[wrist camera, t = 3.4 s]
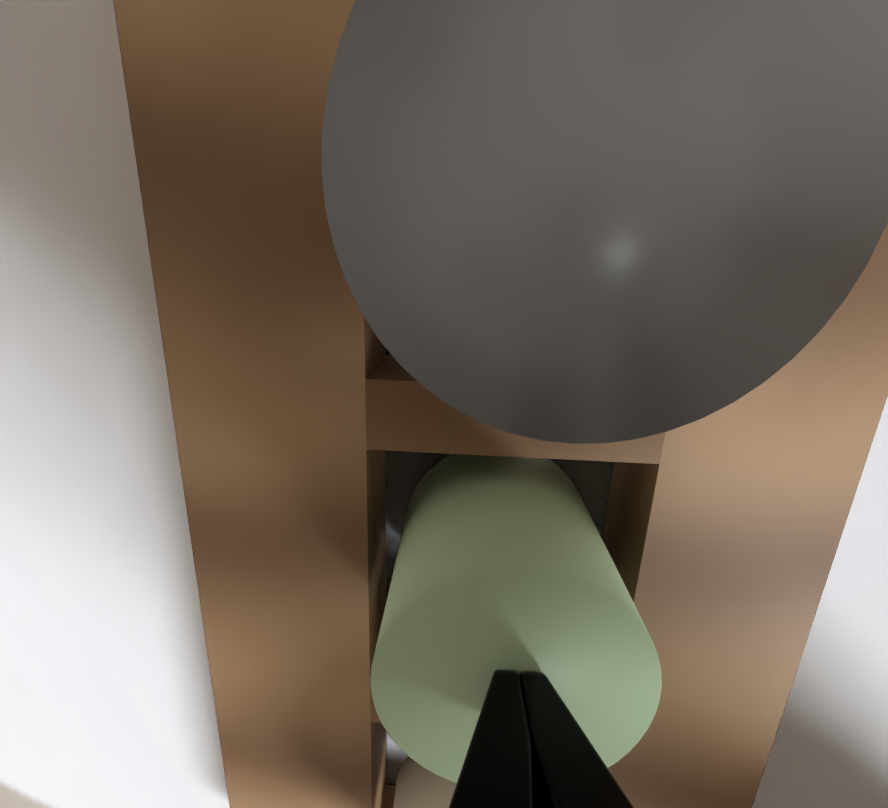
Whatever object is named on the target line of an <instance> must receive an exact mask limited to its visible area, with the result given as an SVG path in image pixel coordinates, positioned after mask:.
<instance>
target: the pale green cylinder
mask: <svg viewBox="0 0 888 808" xmlns="http://www.w3.org/2000/svg"><path fill="white" fill-rule="evenodd" d="M495 670H512V671H517V672H518V674H520V673H521V672H523V671H527V672H541V673H543V674H545V675H546V676H547V678H548V679H549V681H550V682H551V684H552V685H553V687H554V688H555V690H556V691H557V693H558V694H559V696H560V697H561V699H562V700H563V702H564V703H565V705H566V706H567V708H568V709H569V711H570V712H571V714H572V715H573V717H574V718H575V720H576V721H577V723H578V724H579V726H580V727H581V729H582V730H583V732H584V733H585V735H586V736H587V738H588V739H589V741H590V742H591V744H592V745H593V747H594V748H595V750H596V751H597V753H598V754H599V756H600V757H601V759H602V760H603V762H604V763H605V765H606V766H607V768H609V767H610V766H612V765H613V764H615V763H617V762H618V761H619V760H620V759H621V758H623V757H624V756H625V755H626V754H627V753H629V752H630V751H631V749H632V748H633V747H634V746H635V745H636V744H637V743H638V742H639V741H640V740H641V738H642V737H643V735H644V734H645V732H646V731H647V730H648V728H649V726H650V724H651V722H652V720H653V718H654V716H655V714H656V711H657V708H658V704H659V701H660V695H661V688H662V674H661V666H660V661H659V657H658V653H657V651H656V648H655V646H654V643H653V641H652V639H651V637H650V635H649V633H648V631H647V629H646V627H645V625H644V623H643V620H642V618H641V616H640V614H639V612H638V610H637V608H636V606H635V604H634V602H633V600H632V598H631V596H630V594H629V592H628V590H627V588H626V586H625V584H624V582H623V580H622V578H621V576H620V574H619V572H618V570H617V568H616V566H615V564H614V562H613V560H612V558H611V556H610V554H609V552H608V550H607V548H606V546H605V544H604V542H603V540H602V538H601V536H600V534H599V532H598V530H597V528H596V526H595V524H594V522H593V520H592V518H591V516H590V514H589V512H588V510H587V508H586V506H585V504H584V502H583V500H582V498H581V496H580V494H579V492H578V490H577V488H576V486H575V485H574V483H573V481H572V480H571V479H570V477H569V476H568V475H567V474H566V473H565V472H564V471H563V470H562V469H561V468H560V467H559V466H558V465H557V464H556V463H554V462H553V461H551V460H550V459H546V458H526V457H506V456H486V455H465V454H451V455H449V456H448V457H446V458H444V459H442V460H441V461H440V462H438V463H437V464H436V465H434V466H433V467H432V468H431V469H430V470H429V471H428V472H427V473H426V474H425V475H424V477H423V478H422V479H421V480H420V482H419V483H418V485H417V487H416V488H415V490H414V492H413V494H412V497H411V499H410V502H409V506H408V510H407V515H406V519H405V523H404V528H403V532H402V536H401V541H400V545H399V549H398V554H397V558H396V562H395V567H394V571H393V575H392V580H391V584H390V588H389V593H388V597H387V601H386V606H385V610H384V614H383V619H382V623H381V627H380V632H379V636H378V640H377V645H376V649H375V653H374V658H373V662H372V666H371V680H370V682H371V692H372V698H373V702H374V706H375V710H376V712H377V714H378V716H379V719H380V721H381V723H382V725H383V726H384V728H385V730H386V731H387V733H388V734H389V736H390V737H391V738H392V739H393V741H394V742H395V743H396V744H397V745H398V747H399V748H400V749H401V750H403V751H404V752H405V753H406V754H407V755H408V756H409V757H410V758H411V759H413V760H414V761H416V762H417V763H418V764H420V765H421V766H422V767H424V768H426V769H427V770H429V771H431V772H433V773H435V774H436V775H438V776H440V777H443V778H445V779H447V780H450V781H452V782H455V783H457V781H458V778H459V775H460V772H461V769H462V766H463V763H464V760H465V757H466V754H467V751H468V748H469V745H470V742H471V739H472V736H473V733H474V730H475V727H476V724H477V721H478V718H479V715H480V712H481V709H482V706H483V703H484V700H485V697H486V694H487V691H488V688H489V685H490V682H491V679H492V676H493V673H494V671H495Z"/></svg>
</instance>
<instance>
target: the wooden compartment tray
mask: <svg viewBox="0 0 888 808" xmlns="http://www.w3.org/2000/svg"><path fill="white" fill-rule="evenodd" d="M113 2H114V9H115V16H116V23H117V30H118V37H119V44H120V51H121V58H122V65H123V72H124V79H125V85H126V92H127V99H128V106H129V113H130V120H131V127H132V134H133V141H134V148H135V155H136V162H137V168H138V175H139V182H140V189H141V196H142V203H143V210H144V217H145V224H146V231H147V238H148V245H149V252H150V258H151V265H152V272H153V279H154V286H155V293H156V300H157V307H158V314H159V321H160V328H161V335H162V341H163V348H164V355H165V362H166V369H167V376H168V383H169V390H170V397H171V404H172V411H173V418H174V425H175V431H176V438H177V445H178V452H179V459H180V466H181V473H182V480H183V487H184V494H185V501H186V508H187V515H188V521H189V528H190V535H191V542H192V549H193V556H194V563H195V570H196V577H197V584H198V591H199V598H200V604H201V611H202V618H203V625H204V632H205V639H206V646H207V653H208V660H209V667H210V674H211V681H212V688H213V694H214V701H215V708H216V715H217V722H218V729H219V736H220V743H221V750H222V757H223V764H224V771H225V777H226V784H227V791H228V798H229V805H230V808H393V805H394V797H395V789H396V785H387V734H386V730H385V728H384V726H383V725H382V723H381V721H380V719H379V716H378V714H377V712H376V710H375V706H374V702H373V698H372V692H371V682H370V680H371V666H372V662H373V658H374V653H375V649H376V645H377V640H378V636H379V632H380V627H381V623H382V619H383V614H384V610H385V606H386V451H405V452H425V453H445V454H465V455H486V456H506V457H526V458H546V459H567V460H587V461H607V462H614V466H613V472H612V479H611V485H610V492H609V498H608V504H607V511H606V517H605V524H604V530H603V537H602V540H603V542H604V544H605V546H606V548H607V550H608V552H609V554H610V556H611V558H612V560H613V562H614V564H615V566H616V568H617V570H618V572H619V574H620V576H621V578H622V580H623V582H624V584H625V586H626V588H627V590H628V592H629V594H630V596H631V598H632V600H633V602H634V604H635V606H636V608H637V610H638V612H639V614H640V616H641V618H642V620H643V623H644V625H645V627H646V629H647V631H648V633H649V635H650V637H651V639H652V641H653V643H654V646H655V648H656V651H657V653H658V657H659V661H660V666H661V674H662V688H661V695H660V701H659V704H658V708H657V711H656V714H655V716H654V718H653V720H652V722H651V724H650V726H649V728H648V730H647V731H646V732H645V734H644V735H643V737H642V738H641V740H640V741H639V742H638V743H637V744H636V745H635V746H634V747H633V748H632V749H631V751H630V752H629V753H627V754H626V755H625V756H624V757H623V758H621V759H620V760H619V761H618V762H617V763H615V764H613V765H612V766H610V767H609V768H608V769H609V771H610V772H611V774H612V775H613V777H614V778H615V780H616V781H617V783H618V784H619V786H620V787H621V789H622V790H623V792H624V793H625V795H626V796H627V798H628V799H629V801H630V802H631V804H632V805H633V807H634V808H752V805H753V802H754V799H755V796H756V793H757V790H758V787H759V784H760V781H761V778H762V775H763V772H764V769H765V766H766V763H767V760H768V757H769V754H770V750H771V747H772V744H773V741H774V738H775V735H776V732H777V729H778V726H779V723H780V720H781V717H782V714H783V711H784V708H785V705H786V702H787V699H788V696H789V693H790V690H791V687H792V684H793V681H794V678H795V675H796V672H797V669H798V666H799V663H800V660H801V656H802V653H803V650H804V647H805V644H806V641H807V638H808V635H809V632H810V629H811V626H812V623H813V620H814V617H815V614H816V611H817V608H818V605H819V602H820V599H821V596H822V593H823V590H824V587H825V584H826V581H827V578H828V575H829V572H830V569H831V566H832V562H833V559H834V556H835V553H836V550H837V547H838V544H839V541H840V538H841V535H842V532H843V529H844V526H845V523H846V520H847V517H848V514H849V511H850V508H851V505H852V502H853V499H854V496H855V493H856V490H857V487H858V484H859V481H860V478H861V475H862V472H863V469H864V465H865V462H866V459H867V456H868V453H869V450H870V447H871V444H872V441H873V438H874V435H875V432H876V429H877V426H878V423H879V420H880V417H881V414H882V411H883V408H884V405H885V402H886V399H887V396H888V222H887V225H886V227H885V229H884V232H883V234H882V236H881V238H880V240H879V242H878V244H877V246H876V248H875V250H874V252H873V254H872V256H871V258H870V260H869V262H868V264H867V266H866V267H865V269H864V271H863V272H862V274H861V275H860V277H859V279H858V280H857V282H856V283H855V285H854V286H853V288H852V290H851V291H850V293H849V294H848V296H847V297H846V299H845V300H844V302H843V303H842V304H841V305H840V307H839V308H838V309H837V311H836V312H835V313H834V314H833V316H832V317H831V318H830V319H829V321H828V322H827V323H826V324H825V326H824V327H823V328H822V329H821V331H820V332H819V333H818V334H817V335H816V336H815V337H814V338H813V339H812V340H811V341H810V342H809V343H808V344H807V345H806V346H805V347H804V348H803V349H802V350H801V351H800V352H799V353H798V354H797V355H796V356H795V357H794V358H793V359H792V360H791V361H790V362H788V363H787V364H786V365H785V366H783V367H782V368H781V369H780V370H779V371H777V372H776V373H775V374H774V375H773V376H771V377H770V378H769V379H768V380H766V381H765V382H764V383H762V384H761V385H759V386H758V387H756V388H755V389H753V390H752V391H750V392H749V393H747V394H746V395H744V396H743V397H741V398H740V399H738V400H737V401H735V402H733V403H732V404H730V405H728V406H726V407H724V408H722V409H720V410H718V411H716V412H714V413H712V414H710V415H708V416H706V417H704V418H702V419H700V420H697V421H694V422H692V423H689V424H686V425H684V426H681V427H678V428H676V429H673V430H670V431H667V432H663V433H659V434H655V435H651V436H647V437H643V438H639V439H634V440H626V441H619V442H611V443H594V444H570V443H561V442H551V441H542V440H537V439H533V438H529V437H524V436H520V435H516V434H512V433H508V432H506V431H503V430H500V429H498V428H495V427H492V426H490V425H487V424H484V423H482V422H479V421H477V420H476V419H474V418H472V417H470V416H468V415H466V414H464V413H462V412H460V411H458V410H457V409H455V408H453V407H451V406H450V405H448V404H447V403H446V402H444V401H443V400H441V399H440V398H438V397H437V396H436V395H434V394H433V393H431V392H430V391H428V390H427V389H426V388H425V387H423V386H422V385H421V384H420V383H419V382H418V381H417V380H416V379H415V378H414V377H413V376H411V375H410V374H409V373H408V372H407V371H406V370H405V369H404V368H403V367H402V366H401V365H400V364H399V363H398V362H397V360H396V359H395V358H394V357H393V356H392V355H386V348H385V346H384V345H383V344H382V343H381V342H380V340H379V339H378V337H377V336H376V334H375V333H374V331H373V330H372V328H371V327H370V325H369V323H368V322H367V320H366V319H365V317H364V316H363V314H362V313H361V311H360V309H359V307H358V305H357V303H356V301H355V299H354V297H353V295H352V292H351V290H350V288H349V286H348V284H347V282H346V280H345V277H344V274H343V272H342V269H341V266H340V263H339V260H338V257H337V254H336V251H335V249H334V246H333V241H332V237H331V232H330V228H329V223H328V218H327V214H326V209H325V200H324V190H323V180H322V170H321V162H322V125H323V117H324V110H325V103H326V96H327V88H328V83H329V79H330V75H331V71H332V67H333V63H334V59H335V56H336V52H337V48H338V44H339V40H340V38H341V35H342V33H343V30H344V28H345V25H346V22H347V20H348V17H349V15H350V12H351V10H352V7H353V4H354V2H355V0H113Z"/></svg>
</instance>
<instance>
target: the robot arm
mask: <svg viewBox="0 0 888 808" xmlns="http://www.w3.org/2000/svg"><path fill="white" fill-rule="evenodd" d="M449 808H634V807H633V805H632V804H631V802H630V801H629V799H628V798H627V796H626V795H625V793H624V792H623V790H622V789H621V787H620V786H619V784H618V783H617V781H616V780H615V778H614V777H613V775H612V774H611V772H610V771H609V769H608V768H607V766H606V765H605V763H604V762H603V760H602V759H601V757H600V756H599V754H598V753H597V751H596V750H595V748H594V747H593V745H592V744H591V742H590V741H589V739H588V738H587V736H586V735H585V733H584V732H583V730H582V729H581V727H580V726H579V724H578V723H577V721H576V720H575V718H574V717H573V715H572V714H571V712H570V711H569V709H568V708H567V706H566V705H565V703H564V702H563V700H562V699H561V697H560V696H559V694H558V693H557V691H556V690H555V688H554V687H553V685H552V684H551V682H550V681H549V679H548V678H547V676H546V675H545V674H543V673H541V672H527V671H523V672H521V673H520V674H518V672H517V671H512V670H495V671H494V673H493V676H492V679H491V682H490V685H489V688H488V691H487V694H486V697H485V700H484V703H483V706H482V709H481V712H480V715H479V718H478V721H477V724H476V727H475V730H474V733H473V736H472V739H471V742H470V745H469V748H468V751H467V754H466V757H465V760H464V763H463V766H462V769H461V772H460V775H459V778H458V781H457V784H456V787H455V790H454V793H453V796H452V799H451V802H450V805H449Z"/></svg>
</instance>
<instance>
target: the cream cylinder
mask: <svg viewBox="0 0 888 808" xmlns="http://www.w3.org/2000/svg"><path fill="white" fill-rule="evenodd" d="M456 784H457V783H455V782H452V781H450V780H447V779H445V778H443V777H440V776H438V775H436V774H435V773H433V772H431V771H429V770H427V769H426V768H424V767H422V766H421V765H420V764H418V763H417V762H416V761H414V760H413V759H411V758H410V757H409V756H408V757H407V758H406V760H405V761H404V763H403V764H402V766H401V768H400V770H399V773H398V777H397V782H396V789H395V797H394V805H393V808H449V805H450V802H451V799H452V796H453V793H454V790H455V787H456Z"/></svg>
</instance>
